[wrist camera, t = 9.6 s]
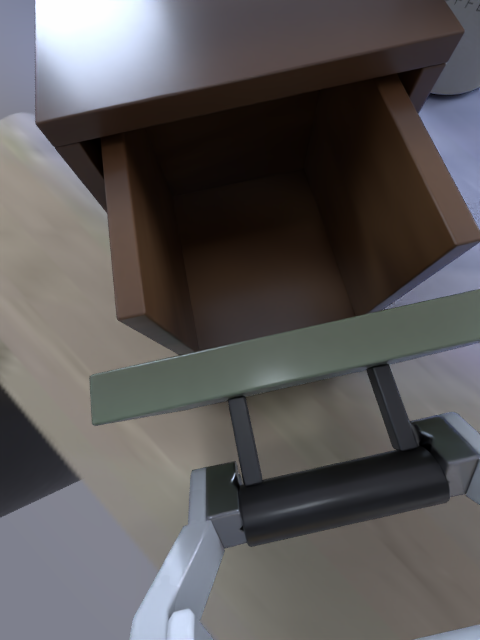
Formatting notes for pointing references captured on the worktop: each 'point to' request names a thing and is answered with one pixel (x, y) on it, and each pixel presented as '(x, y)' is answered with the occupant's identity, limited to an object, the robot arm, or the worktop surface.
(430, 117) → the worktop surface
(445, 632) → the robot arm
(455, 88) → the travel mug
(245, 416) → the drawer
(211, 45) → the storage box
